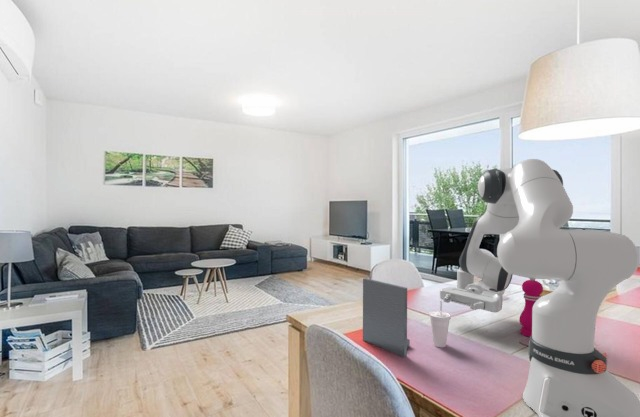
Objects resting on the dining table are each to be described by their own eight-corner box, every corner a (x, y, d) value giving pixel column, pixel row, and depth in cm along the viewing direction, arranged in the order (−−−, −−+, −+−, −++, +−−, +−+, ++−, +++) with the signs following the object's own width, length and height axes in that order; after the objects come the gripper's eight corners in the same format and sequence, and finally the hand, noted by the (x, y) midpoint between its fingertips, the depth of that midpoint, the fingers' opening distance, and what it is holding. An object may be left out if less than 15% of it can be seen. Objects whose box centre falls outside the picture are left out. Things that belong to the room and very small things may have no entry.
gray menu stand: (419, 349, 102) (419, 284, 101) (404, 357, 97) (404, 288, 96) (378, 333, 114) (378, 275, 113) (362, 340, 109) (362, 278, 108)
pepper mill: (521, 328, 119) (521, 272, 118) (545, 334, 114) (546, 275, 113) (517, 335, 113) (518, 276, 112) (543, 340, 108) (544, 279, 108)
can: (470, 290, 170) (470, 266, 170) (475, 294, 162) (476, 269, 162) (455, 289, 171) (455, 266, 170) (459, 293, 163) (460, 269, 163)
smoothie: (436, 350, 101) (437, 304, 101) (424, 341, 108) (425, 298, 107) (454, 347, 103) (455, 302, 103) (442, 339, 109) (442, 296, 109)
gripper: (450, 281, 130) (430, 287, 121) (507, 292, 115) (489, 301, 106) (450, 297, 130) (430, 305, 121) (506, 311, 115) (489, 321, 106)
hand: (458, 303), depth 113 cm, fingers open, 8 cm apart
